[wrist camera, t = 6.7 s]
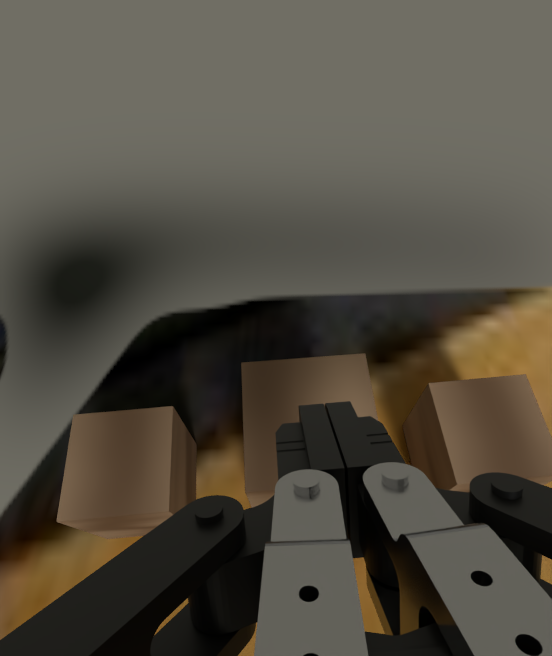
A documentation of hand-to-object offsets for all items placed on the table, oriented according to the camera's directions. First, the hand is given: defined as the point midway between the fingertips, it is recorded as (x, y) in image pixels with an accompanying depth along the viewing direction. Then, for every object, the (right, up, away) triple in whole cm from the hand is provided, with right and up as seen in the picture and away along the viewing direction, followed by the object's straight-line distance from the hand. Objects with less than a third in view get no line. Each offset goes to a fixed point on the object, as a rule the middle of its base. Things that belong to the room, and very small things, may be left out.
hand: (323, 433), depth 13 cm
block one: (+9, -5, +14) cm, 18 cm away
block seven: (-9, -7, +14) cm, 18 cm away
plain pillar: (0, -6, +14) cm, 15 cm away
